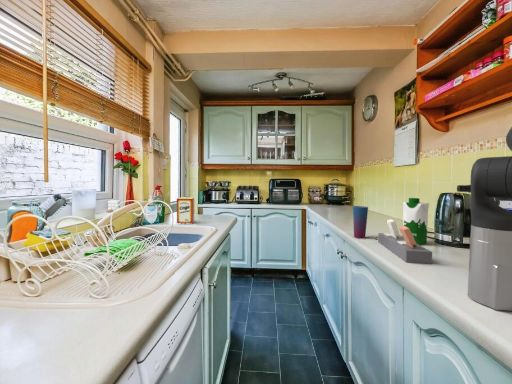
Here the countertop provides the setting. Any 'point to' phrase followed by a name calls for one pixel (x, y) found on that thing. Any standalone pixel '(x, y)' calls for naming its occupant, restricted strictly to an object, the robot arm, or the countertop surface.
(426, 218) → the milk carton
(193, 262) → the countertop surface
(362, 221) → the cup
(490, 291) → the robot arm
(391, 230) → the rocker offwhite
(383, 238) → the power strip
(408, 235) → the rocker terracotta
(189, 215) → the baking soda box
